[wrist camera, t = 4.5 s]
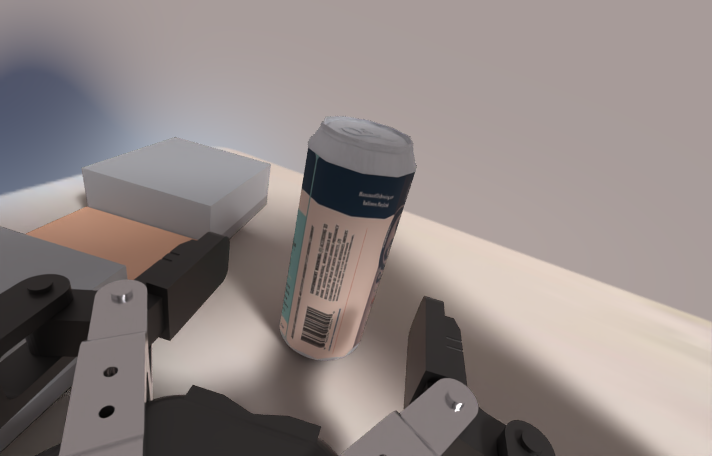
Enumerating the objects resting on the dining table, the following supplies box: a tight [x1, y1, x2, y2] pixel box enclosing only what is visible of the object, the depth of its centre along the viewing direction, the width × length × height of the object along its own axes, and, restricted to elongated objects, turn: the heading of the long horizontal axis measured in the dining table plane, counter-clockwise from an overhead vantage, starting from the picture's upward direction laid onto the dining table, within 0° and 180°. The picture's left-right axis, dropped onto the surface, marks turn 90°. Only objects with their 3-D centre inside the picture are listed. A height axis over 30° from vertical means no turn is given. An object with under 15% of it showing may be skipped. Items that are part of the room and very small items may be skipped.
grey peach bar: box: [0, 137, 271, 452], centre depth 20 cm, size 9×26×4 cm, turn 169°
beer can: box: [280, 116, 417, 360], centre depth 17 cm, size 5×5×12 cm
